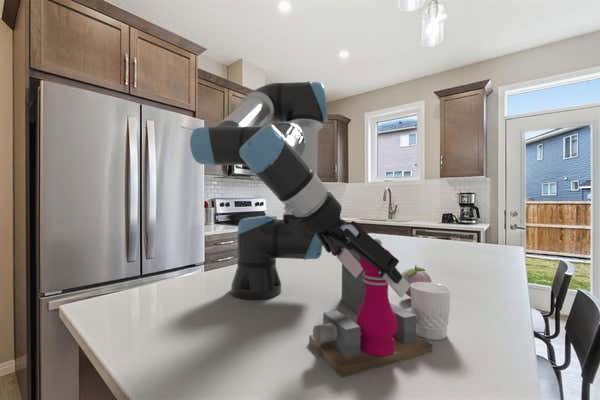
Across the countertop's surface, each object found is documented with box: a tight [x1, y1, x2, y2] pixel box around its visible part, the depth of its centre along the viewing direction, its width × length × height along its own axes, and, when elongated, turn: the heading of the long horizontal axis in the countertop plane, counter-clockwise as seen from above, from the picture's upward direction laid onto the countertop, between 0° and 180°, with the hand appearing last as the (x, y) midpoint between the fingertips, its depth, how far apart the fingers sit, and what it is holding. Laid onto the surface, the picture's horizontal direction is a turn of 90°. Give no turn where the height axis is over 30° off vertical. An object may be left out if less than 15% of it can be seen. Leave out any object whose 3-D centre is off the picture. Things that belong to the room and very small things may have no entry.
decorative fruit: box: [401, 265, 432, 298], centre depth 84 cm, size 9×8×10 cm
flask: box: [341, 240, 366, 314], centre depth 79 cm, size 15×6×20 cm, turn 13°
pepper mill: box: [356, 238, 397, 356], centre depth 53 cm, size 7×7×20 cm
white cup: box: [410, 281, 452, 341], centre depth 63 cm, size 8×8×10 cm
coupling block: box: [308, 302, 433, 378], centre depth 56 cm, size 12×23×6 cm, turn 114°
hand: (379, 280), depth 57 cm, fingers open, 13 cm apart
